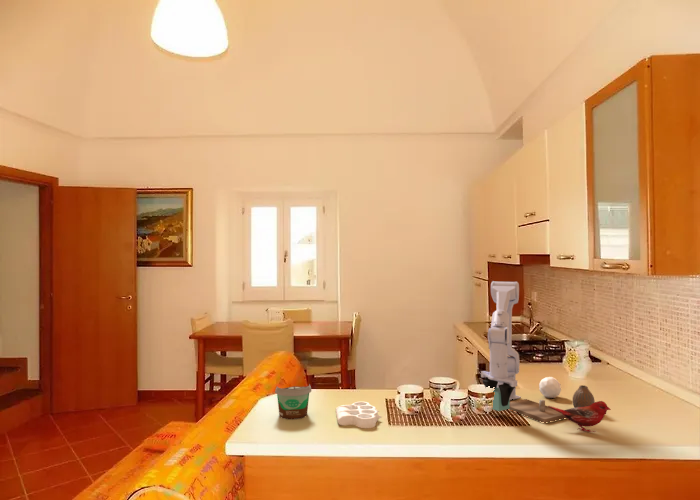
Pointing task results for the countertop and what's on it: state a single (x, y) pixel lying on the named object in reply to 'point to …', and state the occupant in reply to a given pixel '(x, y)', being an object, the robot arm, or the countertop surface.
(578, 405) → the vase
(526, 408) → the walnut base plate
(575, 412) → the decorative bird figurine
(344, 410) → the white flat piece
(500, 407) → the matte teal cube
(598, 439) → the countertop surface
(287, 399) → the food container
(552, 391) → the geometric ball
